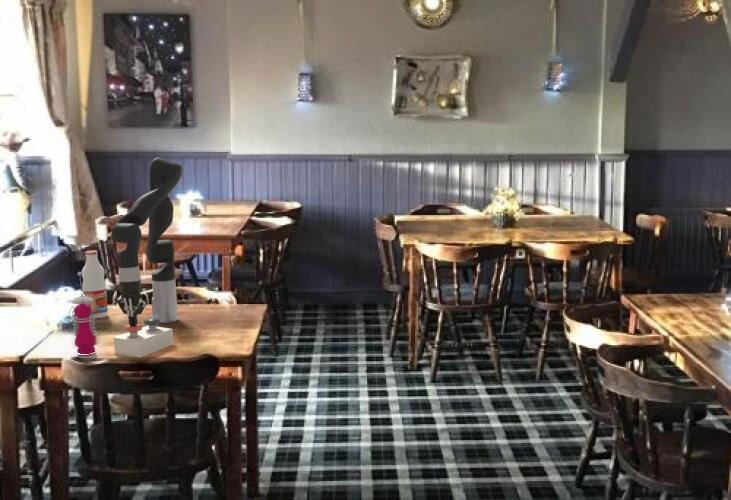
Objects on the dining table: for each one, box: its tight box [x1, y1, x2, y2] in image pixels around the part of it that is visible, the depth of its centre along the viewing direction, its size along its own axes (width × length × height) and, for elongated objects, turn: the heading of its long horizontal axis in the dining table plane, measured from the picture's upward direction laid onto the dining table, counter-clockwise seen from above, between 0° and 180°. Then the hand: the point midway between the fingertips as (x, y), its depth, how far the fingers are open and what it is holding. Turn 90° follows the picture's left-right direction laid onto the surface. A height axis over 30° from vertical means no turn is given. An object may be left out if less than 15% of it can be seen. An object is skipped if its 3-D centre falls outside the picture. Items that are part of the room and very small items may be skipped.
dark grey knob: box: [143, 317, 162, 332], centre depth 348 cm, size 6×6×5 cm
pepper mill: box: [73, 300, 97, 354], centre depth 340 cm, size 7×7×20 cm
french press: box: [68, 271, 98, 336], centre depth 365 cm, size 10×12×25 cm
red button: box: [124, 323, 143, 338], centre depth 340 cm, size 6×6×5 cm
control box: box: [113, 325, 174, 358], centre depth 345 cm, size 12×18×6 cm, turn 151°
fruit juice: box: [81, 250, 109, 319], centre depth 393 cm, size 9×9×28 cm
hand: (133, 325), depth 339 cm, fingers closed
